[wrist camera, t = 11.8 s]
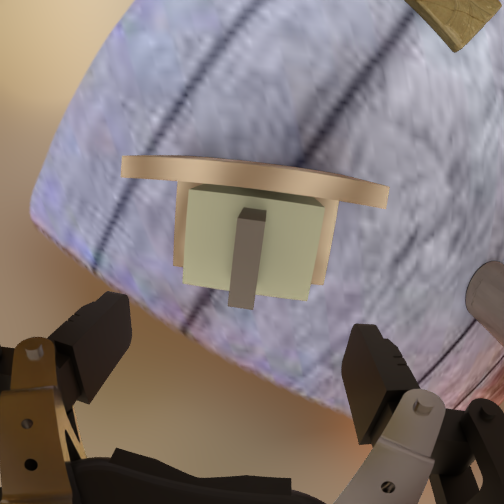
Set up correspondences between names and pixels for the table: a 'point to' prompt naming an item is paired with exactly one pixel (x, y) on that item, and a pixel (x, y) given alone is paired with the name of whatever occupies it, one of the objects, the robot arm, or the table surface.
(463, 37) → the decorative tile
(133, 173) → the wooden stand
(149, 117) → the table surface
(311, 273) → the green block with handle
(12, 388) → the robot arm
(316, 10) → the table surface
